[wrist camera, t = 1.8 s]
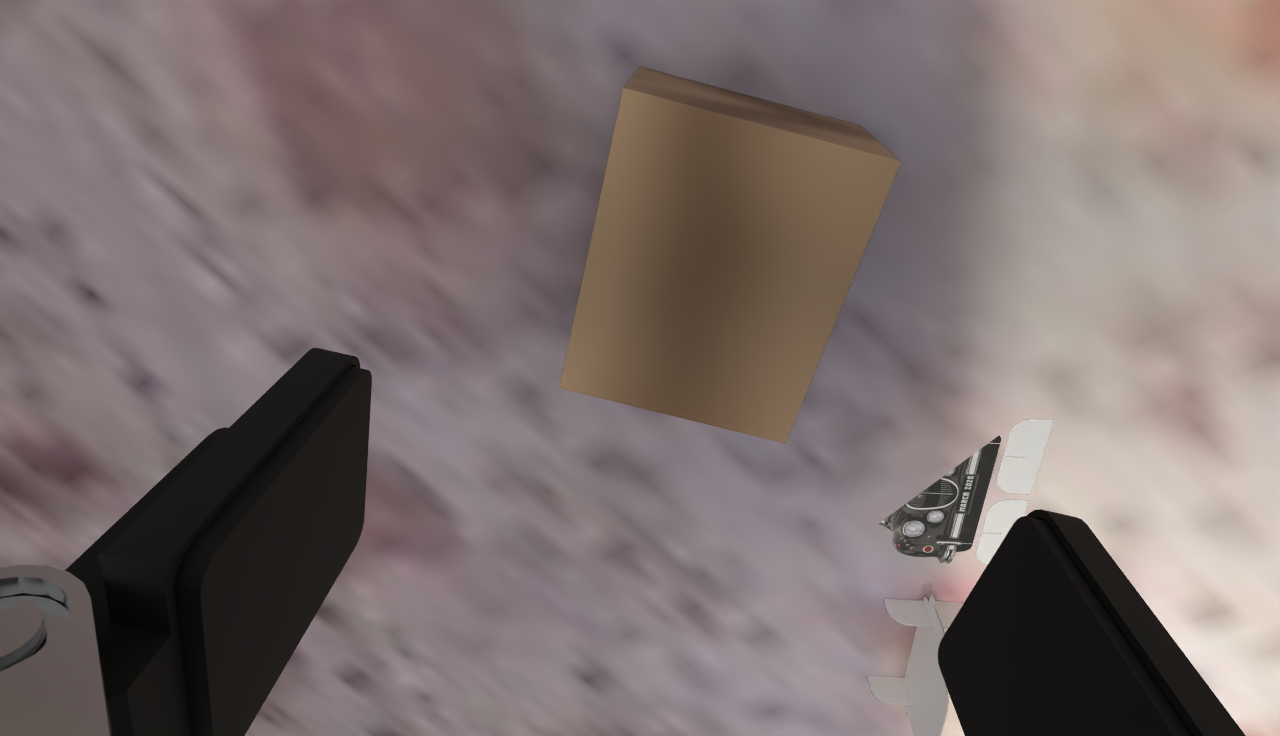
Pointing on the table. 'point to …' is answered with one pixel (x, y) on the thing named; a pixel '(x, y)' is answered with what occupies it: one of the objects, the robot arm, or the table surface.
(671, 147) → the walnut brick
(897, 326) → the table surface
